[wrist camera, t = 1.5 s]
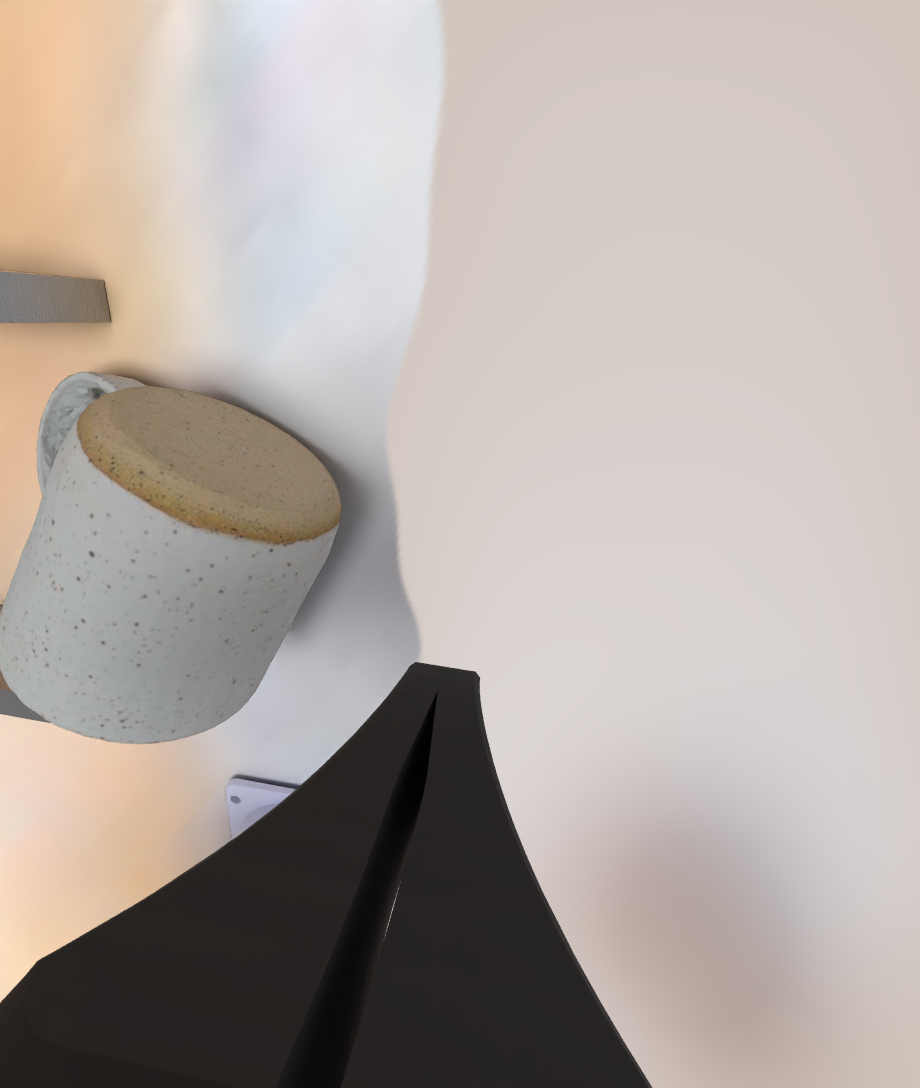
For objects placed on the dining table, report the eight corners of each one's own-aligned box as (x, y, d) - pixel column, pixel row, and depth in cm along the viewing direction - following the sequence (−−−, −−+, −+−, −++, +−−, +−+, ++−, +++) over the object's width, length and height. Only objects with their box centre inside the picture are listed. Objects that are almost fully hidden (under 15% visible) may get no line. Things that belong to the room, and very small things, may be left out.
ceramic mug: (387, 476, 17) (284, 577, 10) (296, 640, 21) (173, 800, 14) (104, 303, 17) (-216, 285, 10) (57, 503, 20) (-207, 600, 13)
